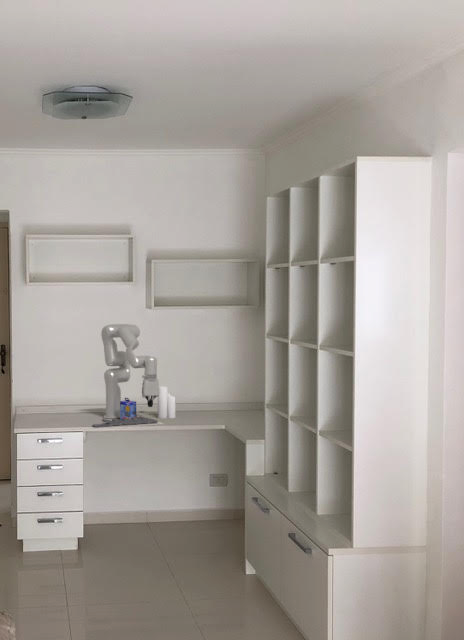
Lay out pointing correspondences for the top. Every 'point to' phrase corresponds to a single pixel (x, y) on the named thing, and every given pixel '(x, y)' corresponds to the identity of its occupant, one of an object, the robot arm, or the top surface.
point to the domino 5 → (139, 420)
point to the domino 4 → (130, 421)
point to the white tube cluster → (165, 403)
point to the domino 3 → (120, 421)
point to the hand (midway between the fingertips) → (150, 406)
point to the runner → (135, 424)
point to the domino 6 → (148, 419)
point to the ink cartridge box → (127, 409)
